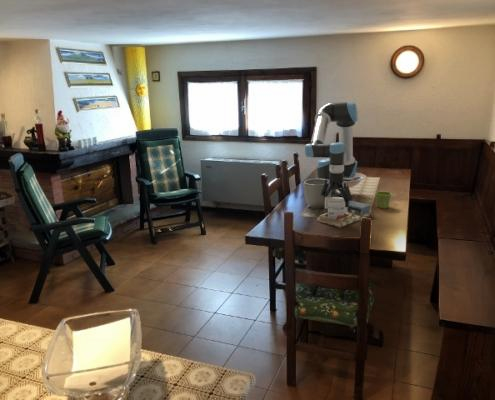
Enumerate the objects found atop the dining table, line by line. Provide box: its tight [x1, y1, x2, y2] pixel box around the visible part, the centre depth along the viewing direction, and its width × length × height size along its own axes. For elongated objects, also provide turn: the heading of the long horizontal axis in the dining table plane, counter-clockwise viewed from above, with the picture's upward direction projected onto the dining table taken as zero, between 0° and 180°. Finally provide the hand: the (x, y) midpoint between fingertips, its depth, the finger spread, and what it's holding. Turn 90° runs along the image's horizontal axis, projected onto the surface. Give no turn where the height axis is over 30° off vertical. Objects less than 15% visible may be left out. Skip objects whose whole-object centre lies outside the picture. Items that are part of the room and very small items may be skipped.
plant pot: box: [375, 191, 393, 209], centre depth 248 cm, size 9×9×9 cm
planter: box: [303, 178, 332, 210], centre depth 253 cm, size 17×17×16 cm
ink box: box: [327, 196, 345, 220], centre depth 227 cm, size 9×5×12 cm, turn 76°
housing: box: [348, 200, 371, 215], centre depth 238 cm, size 8×15×4 cm, turn 41°
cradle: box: [316, 208, 371, 228], centre depth 232 cm, size 28×16×4 cm, turn 131°
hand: (335, 210), depth 227 cm, fingers open, 12 cm apart
